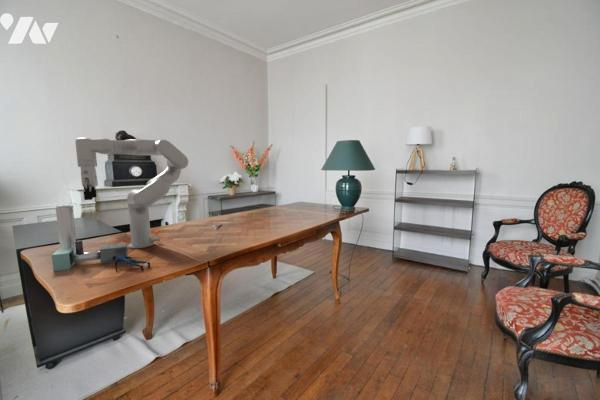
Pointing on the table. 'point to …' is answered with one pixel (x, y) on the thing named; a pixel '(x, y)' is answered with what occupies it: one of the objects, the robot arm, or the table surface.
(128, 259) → the person figurine
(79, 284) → the table surface
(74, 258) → the slip tube
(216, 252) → the table surface
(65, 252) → the socket block
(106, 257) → the sleeve
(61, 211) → the grey cylinder
